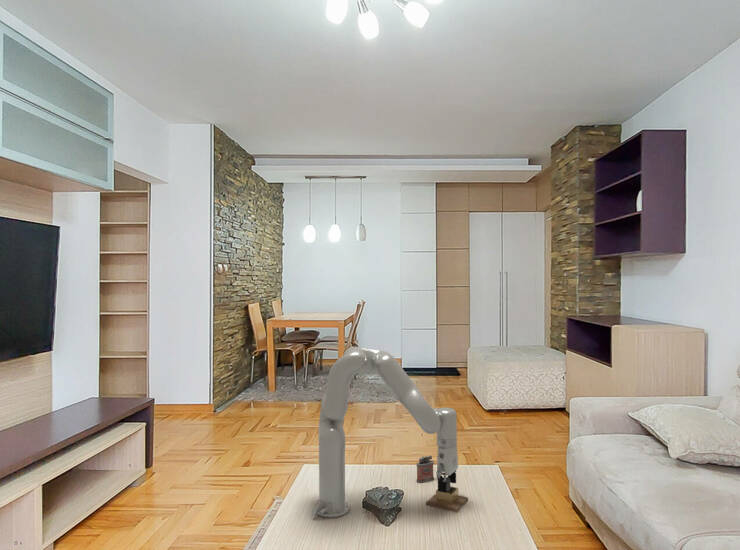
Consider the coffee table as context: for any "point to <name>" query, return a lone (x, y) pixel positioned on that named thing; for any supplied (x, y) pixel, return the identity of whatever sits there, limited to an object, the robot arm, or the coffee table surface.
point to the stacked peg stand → (453, 508)
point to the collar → (447, 496)
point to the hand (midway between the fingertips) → (447, 487)
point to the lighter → (425, 469)
